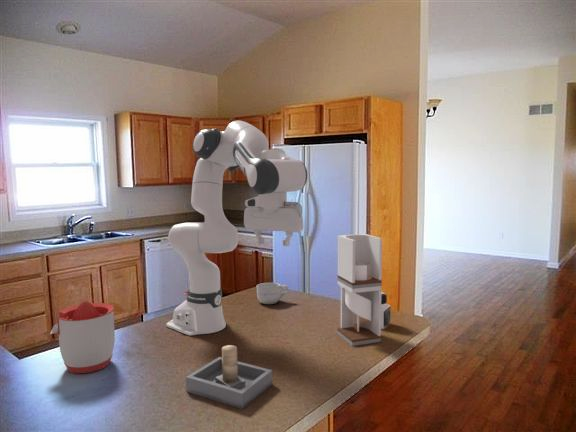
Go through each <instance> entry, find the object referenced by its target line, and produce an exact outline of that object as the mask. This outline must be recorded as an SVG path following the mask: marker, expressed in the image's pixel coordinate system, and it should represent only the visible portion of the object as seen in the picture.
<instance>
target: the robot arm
mask: <svg viewBox="0 0 576 432" xmlns="http://www.w3.org/2000/svg"><path fill="white" fill-rule="evenodd" d="M192 150H193V153H194V155H195V156H196V157H198V160H197V161H196V164H195V168H194V172H193V176H192V185H191V197H190V204H191V207H192V208H193V209H194V210H195V211H197V212H198V213H200V214H201V215H203V216H204V217H203V218H204V221H203V222H182V223H178V224H177V223H176V224H174V225H172V227H171V228H170V230H169V232H168V236H167V237H168V238H167V239H168V243H169V246H170V247H171V249H173V250H174V251H175V252H176V253H177V254H178V255H179V256H181V258H182V260H183V261H184V263H185V266H186V268H187V274H188V280H189V290H187V291H184V292H183V293H184V296H186V295H187V296H186V299H185V300H184V301H183V302H182V303H181V304H179V305H177V306H176V308H175V309H174V311H173V314H172V319H171V320H169V321H168V322H167V323H166V327H167V328H168V329H171V330H175V331H177V332H179V333H182V334H185V335H186V336H196V335H197V336H198V335H205V334H207V335H208V334H213V333H217V332H220V331H222V330H224V329H225V328H226V326H227V325H226V321H225V317H224V313H223V307H222V302H223V291H222V288H221V269H220V268H219V267H218V265H217V264H215V262H213V261H211V260H209V259H208V257H207V256H206V254H222V253H228V252H232V251H234V250H235V249H236V248H237V246H238V244H239V239H240V237H239V232H238V229H237V228H236V226H235V225H234V224H232V223H231V222H230V221H229V220H228V219H227V217H226V215H225V213H224V209H223V186H224V185H223V183H224V182H223V181H224V173H225V172H226V170H228V171H229V172H230V173H231V172H234V171H235V170H238V169H240V170H241V172H242V173H243V175H244V177H245V178H246V180H247V181H246V182H247V184H248V186H249V188H250V189H251V190H252V191H253V192H254V193H255V194H257V196H254V197H251V198H248V199H246V200H245V201H244V206H245V207H246V208H245V209H244V211H243V212H244V213H243V226H244V227H245V229H246V230H253V234H254V235H255V237H256V238H257V244H258V245H260V244H261V245H262V244H263V245H264V244H265V237H263V236H262V234H261V233H262V231H271V232H281V233H282V232H285V235H286V237H285V239H282V246H283V247H289V246H290V243H291V242H290V241H291V239H292V237H293V235H294V233H300V232H302V231H303V229H304V220H303V206H302V204H301V203H299V202H297V201H288V200H287V197H288V196H287V192H290V193H291V192H297V191H301V190H303V189H304V187H305V186H306V184H307V181H308V170H307V167H306V164H305V163H304V162H303V161H301V160H299V159H295V158H293V157H291V156H289V155H287V154H286V151H285V150H284V149H281V148H269V140H268V137H267V136H266V135H265V134H264V132H262V131H261V129H258V128H257V127H255V126H254V125H253V124H250V123H249V122H246V121H243V120H240V119H239V120H233V121H232V122H230V123H229V124H228V125H227V126H226V128H225V130H224V131H221V130H219V129H218V128H212V129H210V128H207V129H202V130H199V131H198V132H196V134H195V136H194V138H193V141H192Z"/></svg>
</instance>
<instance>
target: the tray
mask: <svg viewBox="0 0 576 432" xmlns="http://www.w3.org/2000/svg"><path fill="white" fill-rule="evenodd" d="M237 367H238V376H239V377H240V378H242V379H244V380H245V385H246V386H245V387H242V388H239V389H235V388H231V387H228V386H225V385H221V384H218V383H216V381H215V377H217V376H220V375H223V374H222V356H218V357H216V358H214V359H213V360H212V361H210V362H208V363H206V364H205V365H203V366H202V367H200V368H198V369H196V371H193V372H192V373H190V374H188V375H187V376H186V377H185V389H186V392H187V393H191V394H193V395H197V396H198V397H199V396H200V397H203V398H206V399H209V400H213V401H216V402H219V403H222V404H224V405H227V406H230V407H234V408H237V409H240V410H243V409H244V408H246V407H248V405H249V404H250V403H252V402H253V401H254V400H255V399H256V398H258V397H259V396H260V395H261V394H263V393H264V392H265V391H267V390H268V389H269V388H270V387H271V386H272V385H273V369H268V368H265V367H261V366H257V365H254V364H250V363H249V364H248V363H246V362H241V361H238V360H237Z"/></svg>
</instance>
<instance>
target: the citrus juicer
mask: <svg viewBox="0 0 576 432" xmlns="http://www.w3.org/2000/svg"><path fill="white" fill-rule="evenodd" d="M114 310H115V307H114V305H112V304H110V303H104V302H91V303H90V301H87V300H84V301H82V303H80V304H77V305H72V306H69V307H66V308H64V309H61V310H60V311H59V312H58V313H59V314H58V316H59V317H57V323H56V324H54V325H53V326H52V329H51V331H50V333H49V334H50V335H53V334H57V335H58V344H59V345H58V346H59V350H60V356H61V359H62V360H63V364H64V365H65V366H64V367H66V369H67V370H68V372H70V373H73V374H88V373H92V372H96V371H99V370H102V369H104V368H105V367H107V366H108V365H109V364H110V362H111V360H112V357H113V352H114V348H115V339H116V335H115V318H114Z"/></svg>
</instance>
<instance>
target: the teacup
mask: <svg viewBox="0 0 576 432" xmlns="http://www.w3.org/2000/svg"><path fill="white" fill-rule="evenodd" d="M283 288H285V289H286V290H285V291H284V292H283V293H282V290H283ZM289 291H290V288H289V287H288V285H286V284H280V283H278V282H263V283H259V284H256V297H257V300H258V301H259V302H261V303H262V304H264V305H273V304H276V303H278V302H279V301H280V300H281V299H282V298H283V297H284V296H285V295H287V294H288V293H289ZM261 303H260V304H261Z"/></svg>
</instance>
